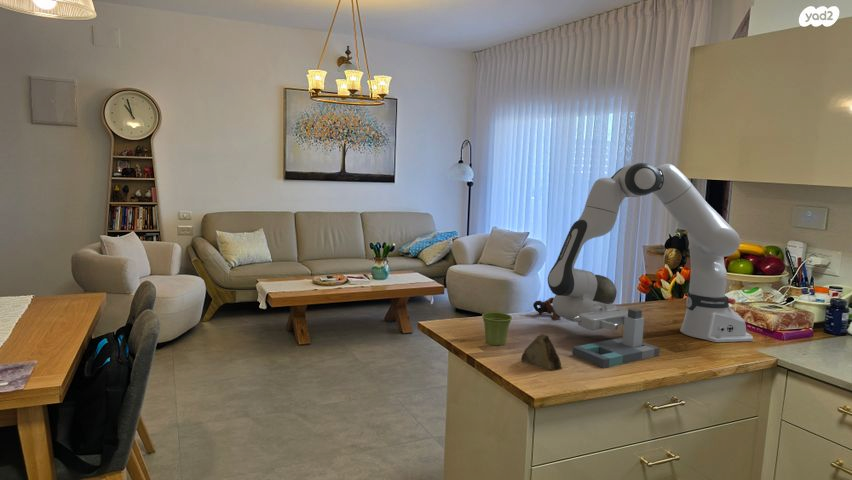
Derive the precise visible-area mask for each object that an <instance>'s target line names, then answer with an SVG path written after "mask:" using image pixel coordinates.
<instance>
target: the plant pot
mask: <svg viewBox="0 0 852 480" xmlns="http://www.w3.org/2000/svg"><path fill="white" fill-rule="evenodd" d="M481 317H482V319H483V323H484V334H485V335H484V337H485V342H486V344H488V345H491V346H498V345H500V346H504V345H505V344H506V341H507V335H508V330H509V326H510V323H511V321H512V318H513V317H512V316H511V315H510V314H507V313H503V312H500V311H499V312H495V311H491V312H485V313H482V315H481Z"/></svg>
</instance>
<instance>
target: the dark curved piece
mask: <svg viewBox="0 0 852 480" xmlns="http://www.w3.org/2000/svg"><path fill="white" fill-rule="evenodd" d="M553 299H554V297H548V299H547V300H545V301H541V300H536V301H534V302H533V308H534V310H535V312H537V313H538V315H540V316H541V315H542V314H544V313H547V314H550V315H552V316H551V317H550V318H551V320H553V321H556V320H557V319H558V318H559V319H560V318H562V317H561V316H559V315H558V314H557V313H556V312H555V311H554V309H553V305H552V302H553ZM538 306H539V307H538Z"/></svg>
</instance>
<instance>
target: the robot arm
mask: <svg viewBox="0 0 852 480" xmlns="http://www.w3.org/2000/svg"><path fill="white" fill-rule="evenodd" d="M650 194H654V195H655V196H656V197H657V198H658V200H659V201H660V202H661V203H662V205H663V206H664V207H665V208H666V210H667V211H668V212H669V214H671V216H672V217H673V219H674V220H675V221H676V222H677V223H678V224H679V225H681V227H682V228H683V229H684V230H685V231H686V232H687V240H688V243H689V244H688V245H689V259H690V275H689V276H690V277H689V286H688V287H689V289H688V292H687V296H686V302H685V303H686V304H685V305H686V306H685V307H686V310H685V311H686V312H685V315H684V319H683V322H682V325H681V326H680V329H679V331H680V333H682V334H683V335H686V336H689V337H692V338H697V339H700V340H701V339H702V340H706V341H710V342H713V343H726V342H727V343H729V342H730V343H731V342H732V343H733V342H735V343H736V342H752V341H754V337H753V335H752V334H751V333H749V332H747V326H746V321H745V319H744V318H742V316H740V315H739V314H738V313H737V312H736V311H735V310H733V309H732V308H731V307H730V305H732V306H734V305H735V304H736V303H737V300H736V299H735V298H733V297H728V296H727V295H726V287H727V278H728V272H727V269H726V264H725V260H724V259H725V257H730V256H732V255H733V254H735V253H736V252H737V251H738V250H739V248H740V245H741V238H740V235H739V233H738V231H736V229H734V228H733V227H732V226H731V225H730V224H729V223H728V222H727V221H726V220H725V219H724V218H723V216H721V214H719V213H718V212H717V210H715V209H714V208H713V206H711V205H710V204H709V203H708V202H707V201H706V200H705V198H704V197H703V196H702V194H701V193H700V192H699V191H698V189H697V188H696V187H695V185H693V183H692V182H691V181H690V180H689V178H688V177H687V176H686V175H685V174H684V173H683V172H682V171H681V170H680V169H679V168H677V167H676V166H675V165H674V164H671V163H663V164H660V165H658V166H657V167H656V166H653V165H652V164H649V163H646V162H637V163H631V164H628V165H626V166H624V167H621V168H619V169H617V171H616V172H615V173H614V174H613V175H612V176H611V177H601V178H598V179H597V180H595V181H594V183H593V185H592V187H591V189H590V191H589V194H588V196H587V199H586V202H585V204H584V208H583V212H581V215H580V217H579V219H578V220H576V221H575V222H574V223H573V224H572V225H571V227H570V228H569V231H568V233H567V235H566V237H565V240H564V243H563V245H562V247H561V249H560V252H559V254H558V257H557V259H556V261H555V262H554V265H553V266H552V268H551V269H550V271H549V272H548V276H547V284H548V285H547V286H548V287H549V290H550V291H551V293H552V294H553V295H554V296H553V298H554V299H553V302H552V304H551V305H552V306H553V309H554V311H555V312H556V313H557V314H558V315H559V316H561V317H560V318H563V319H565V320H567V321H570V322H573V323H577V324H578V326H580V327H582V328H585V329H586V330H589V331H598V330H602V329H608V330H612V331H615V330H618V327H620V326H624V319H625V316H628V308H624V307H621V306H618V305H615V304H614V302H613V303H603V302H602V303H601V302H597V301H593V300H594V297H595V294H596V291H597V288H598V281H597V278H596V276H595V275H596V274H595V273H593V272H592V271H589V270H584V269H579V268H575V264H576V262H577V260H578V257H579V255H580V252H581V250H582V248H583V246H585V244H586V242H588V241H589V240H593V239H594V238H601V237H603V236H606V235H607V234H609V233H610V232H611V231H612V230H613V228H614V226H615V225H616V222H617V218H618V214H619V211H620V205H622V202H623V200H625V199H626V198H637V197H643V196H647V195H650Z"/></svg>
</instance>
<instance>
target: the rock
mask: <svg viewBox="0 0 852 480" xmlns="http://www.w3.org/2000/svg"><path fill="white" fill-rule="evenodd" d="M520 359H521V362H523V363H526V364H529V365H531V366H535V367H537V368H541V369H545V370H548V371H556V370H557V371H559V370H562V369H563V367H562V363H561V360H560V359H561V358H560V357H559V355H558V353H557V351H556V348H555V345H554V344H553V342H552V340H551V339H550V337H549V335H546V334H543V333H541V334H539V335H537V336H536V337H535V339H533V341H531V343H530V344H529V345H528V346H527V347H526V348H525V349H524V352H523V353H522V354H521V358H520Z"/></svg>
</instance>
